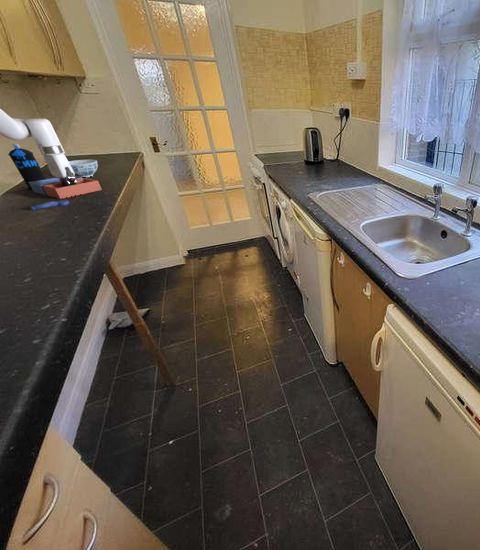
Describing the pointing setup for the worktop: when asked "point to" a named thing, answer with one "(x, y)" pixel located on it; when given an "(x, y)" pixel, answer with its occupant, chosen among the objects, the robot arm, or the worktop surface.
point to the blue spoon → (49, 204)
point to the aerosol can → (26, 165)
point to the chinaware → (84, 167)
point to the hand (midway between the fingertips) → (72, 191)
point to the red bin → (72, 188)
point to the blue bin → (38, 185)
